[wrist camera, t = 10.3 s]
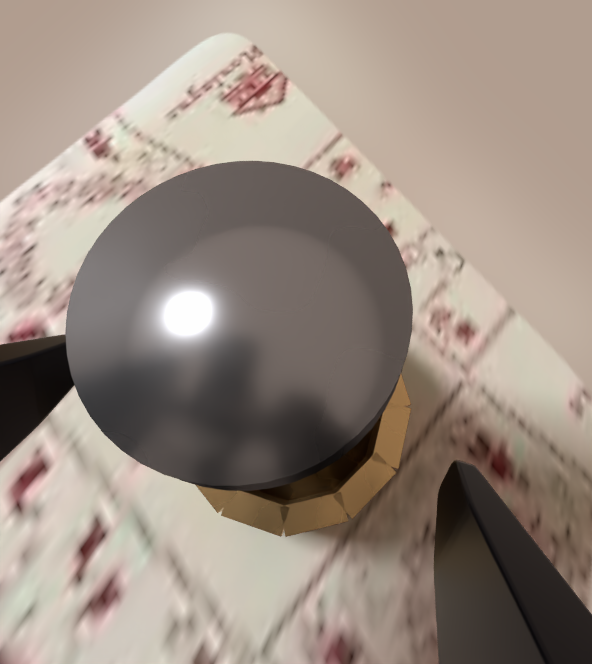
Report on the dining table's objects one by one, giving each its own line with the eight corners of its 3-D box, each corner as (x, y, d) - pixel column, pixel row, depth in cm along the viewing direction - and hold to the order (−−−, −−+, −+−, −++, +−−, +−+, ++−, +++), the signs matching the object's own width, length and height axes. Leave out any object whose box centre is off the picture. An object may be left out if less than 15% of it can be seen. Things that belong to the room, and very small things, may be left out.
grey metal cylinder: (369, 442, 18) (495, 381, 5) (262, 498, 17) (121, 573, 5) (316, 341, 19) (316, 112, 7) (216, 389, 19) (23, 234, 6)
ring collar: (436, 416, 18) (457, 407, 15) (286, 573, 16) (281, 594, 14) (297, 284, 21) (294, 256, 18) (155, 408, 19) (128, 398, 16)
